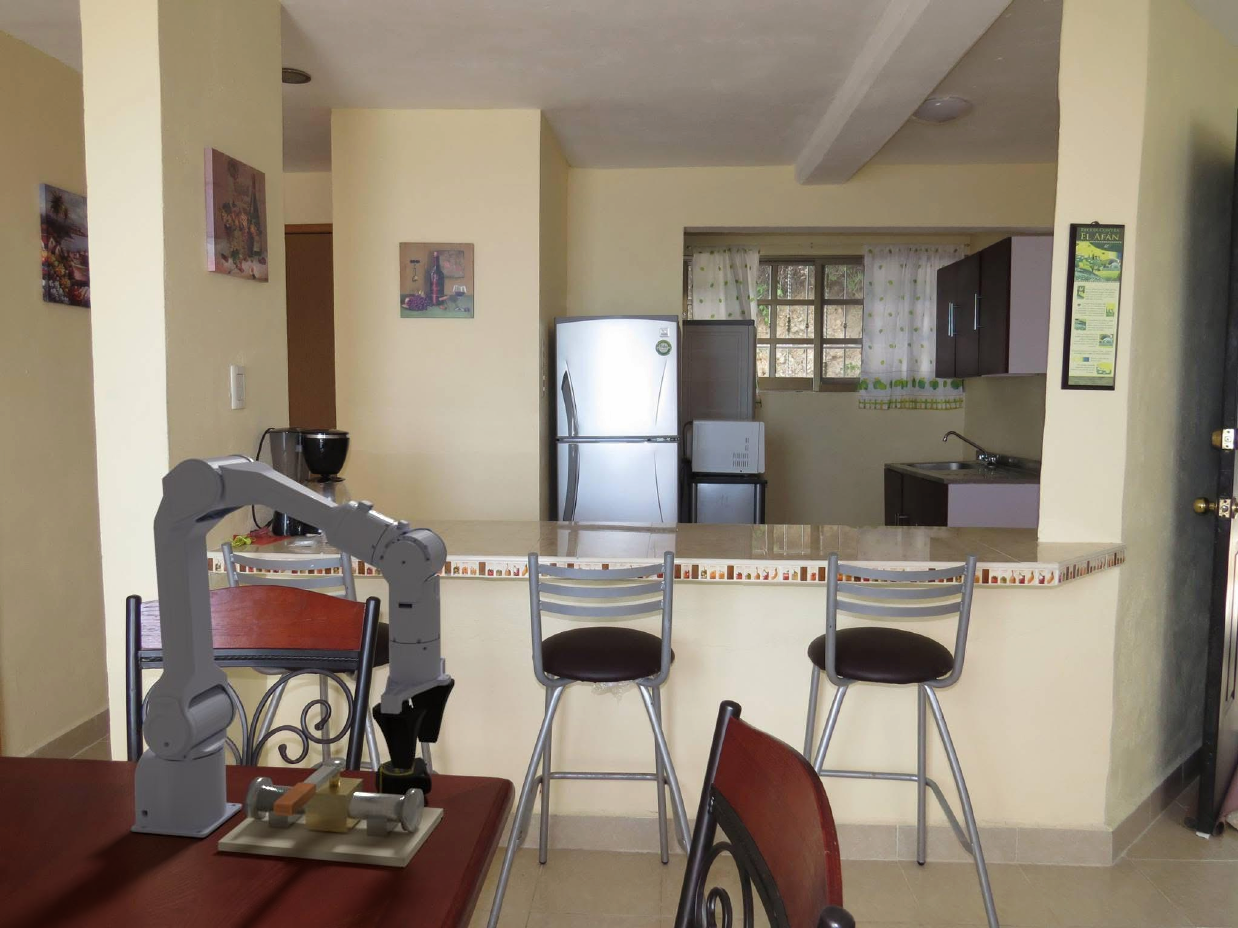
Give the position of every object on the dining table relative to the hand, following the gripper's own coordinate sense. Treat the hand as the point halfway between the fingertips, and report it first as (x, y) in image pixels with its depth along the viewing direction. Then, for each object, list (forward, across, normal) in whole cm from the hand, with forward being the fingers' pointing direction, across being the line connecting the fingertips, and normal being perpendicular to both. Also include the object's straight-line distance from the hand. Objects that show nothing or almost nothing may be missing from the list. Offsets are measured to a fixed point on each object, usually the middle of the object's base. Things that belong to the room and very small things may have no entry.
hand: (415, 754), depth 103 cm
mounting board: (+10, 0, +10) cm, 14 cm away
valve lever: (+3, -5, +10) cm, 12 cm away
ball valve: (+10, 0, +10) cm, 14 cm away
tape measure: (+10, +12, +6) cm, 17 cm away
